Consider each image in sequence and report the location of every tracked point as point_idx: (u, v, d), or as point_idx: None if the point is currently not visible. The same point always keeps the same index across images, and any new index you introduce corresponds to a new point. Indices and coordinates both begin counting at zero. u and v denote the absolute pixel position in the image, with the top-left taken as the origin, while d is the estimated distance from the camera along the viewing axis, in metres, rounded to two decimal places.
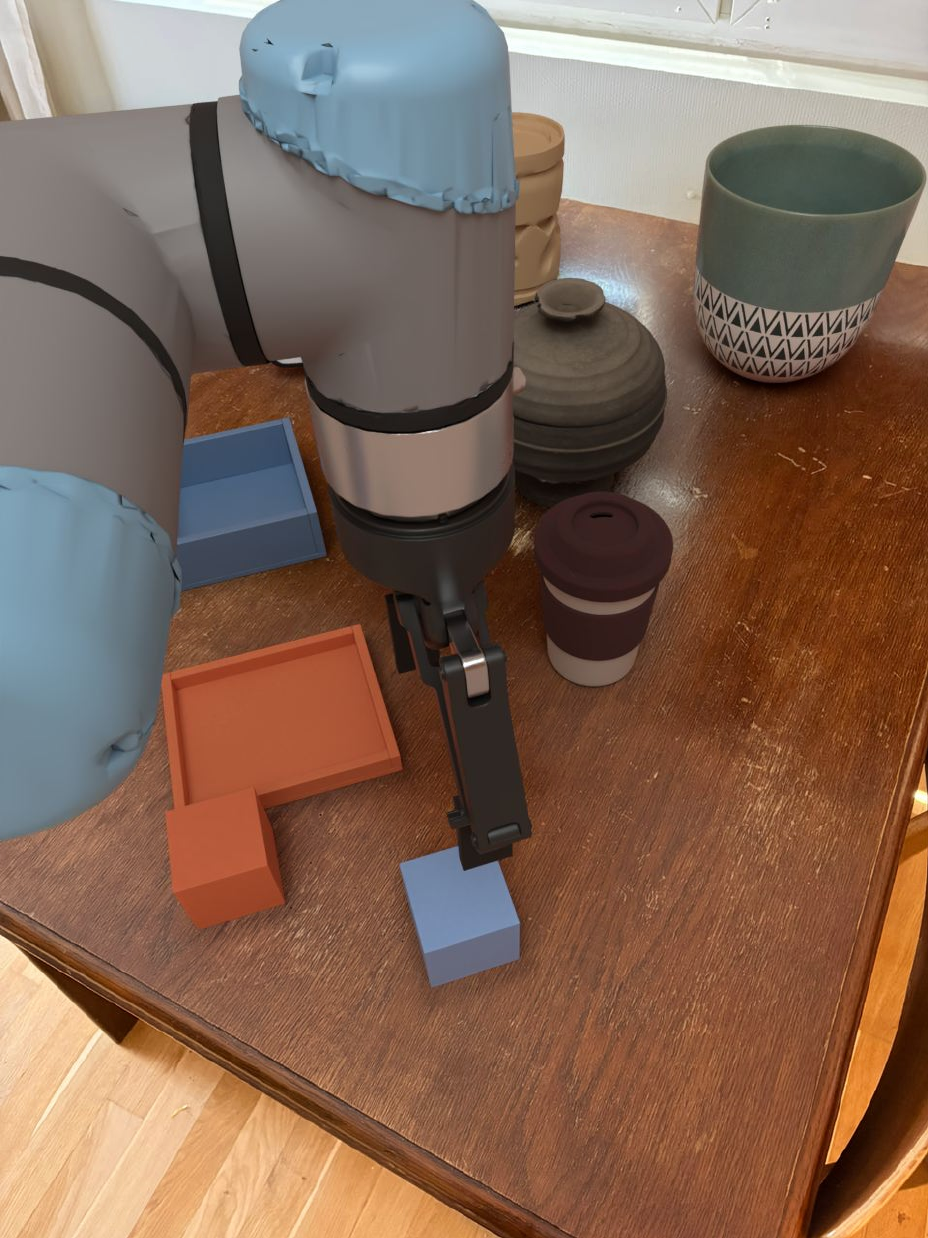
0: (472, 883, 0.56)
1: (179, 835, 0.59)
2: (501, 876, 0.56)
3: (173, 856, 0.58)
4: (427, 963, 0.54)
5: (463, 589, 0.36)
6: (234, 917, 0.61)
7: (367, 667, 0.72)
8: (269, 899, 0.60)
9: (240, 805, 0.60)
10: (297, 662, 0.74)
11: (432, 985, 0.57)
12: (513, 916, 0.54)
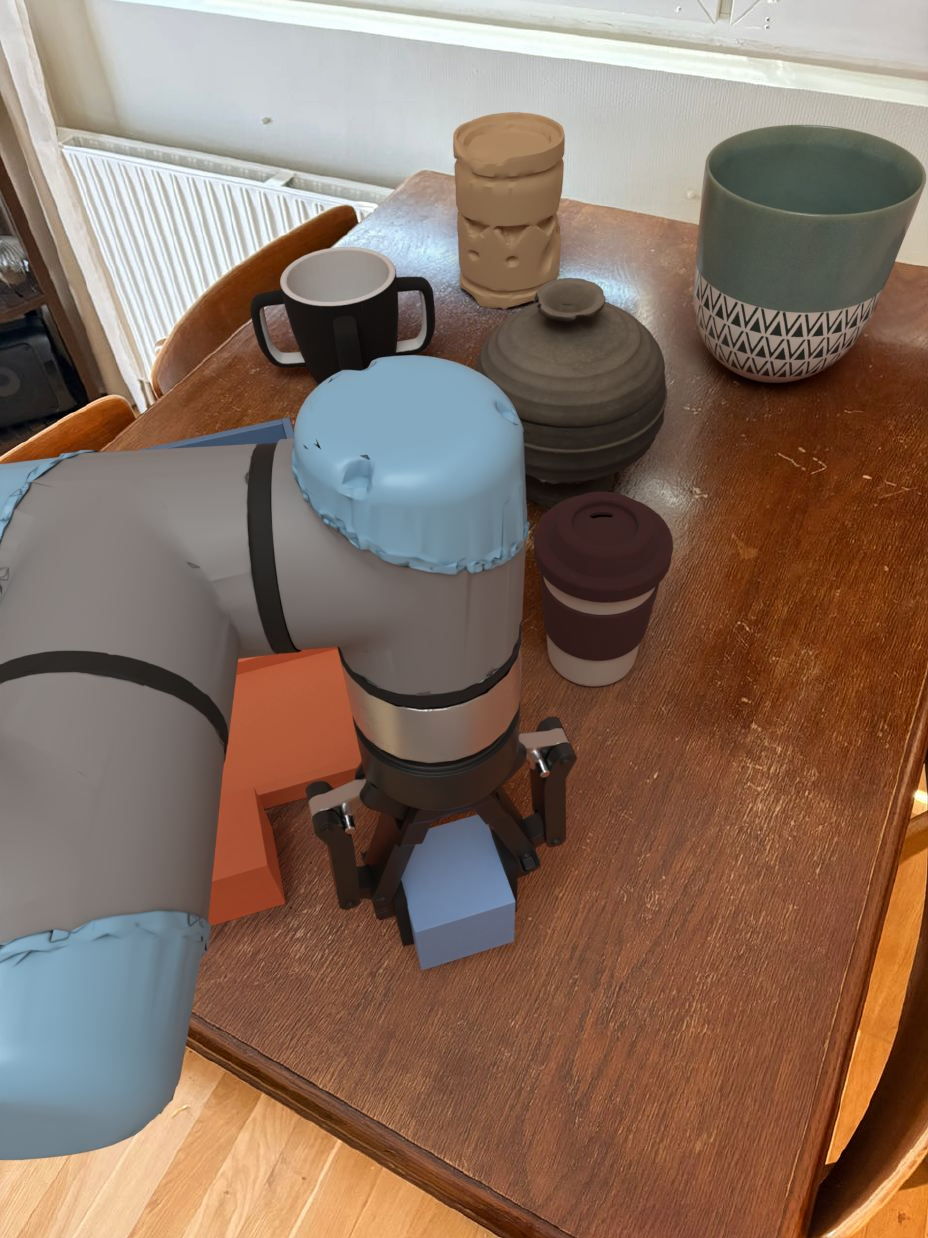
0: (465, 860, 0.53)
1: None
2: (496, 853, 0.53)
3: None
4: (418, 943, 0.52)
5: None
6: (234, 917, 0.61)
7: None
8: (269, 899, 0.60)
9: (240, 805, 0.60)
10: (297, 662, 0.74)
11: (422, 967, 0.55)
12: (508, 895, 0.52)
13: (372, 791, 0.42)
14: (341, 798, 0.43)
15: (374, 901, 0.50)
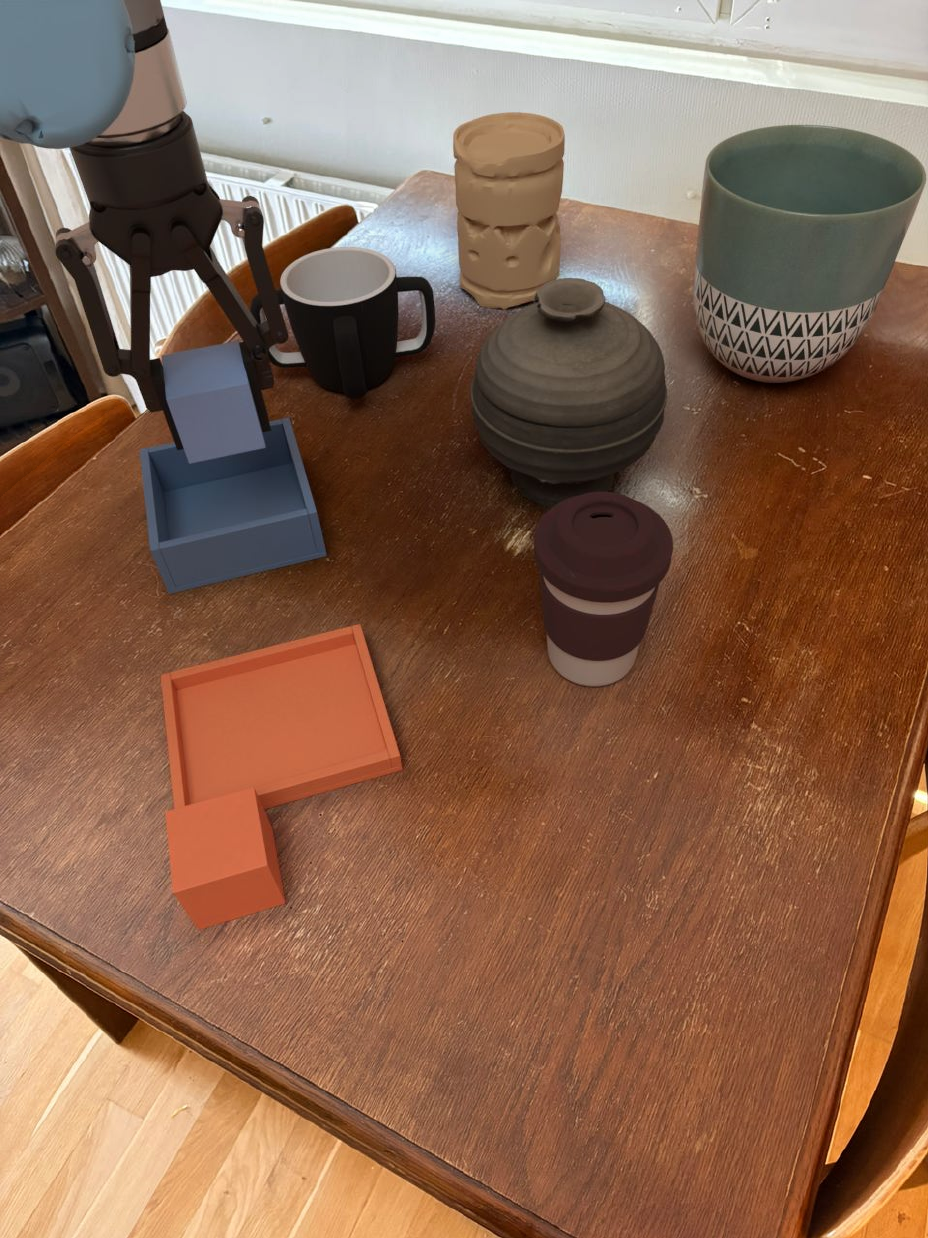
0: (217, 363, 0.68)
1: (179, 835, 0.59)
2: None
3: (173, 856, 0.58)
4: (174, 417, 0.66)
5: None
6: (234, 917, 0.61)
7: (367, 667, 0.72)
8: (269, 899, 0.60)
9: (240, 805, 0.60)
10: (297, 662, 0.74)
11: (189, 459, 0.69)
12: (244, 379, 0.66)
13: (95, 216, 0.57)
14: (77, 231, 0.58)
15: (133, 372, 0.65)
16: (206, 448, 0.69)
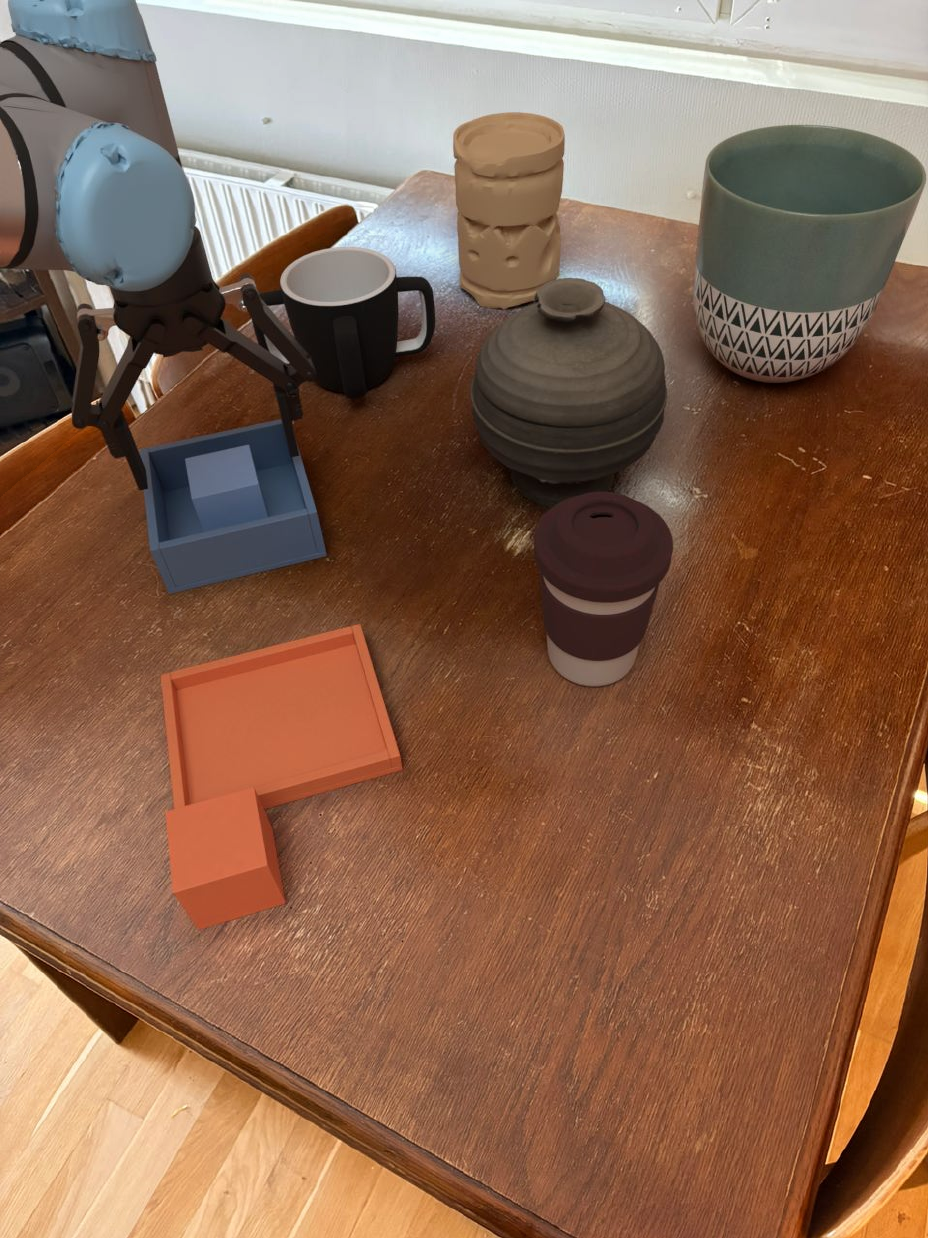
0: (231, 466, 0.82)
1: (179, 835, 0.59)
2: (252, 462, 0.82)
3: (173, 856, 0.58)
4: (197, 512, 0.81)
5: None
6: (234, 917, 0.61)
7: (367, 667, 0.72)
8: (269, 899, 0.60)
9: (240, 805, 0.60)
10: (297, 662, 0.74)
11: None
12: (255, 480, 0.81)
13: (118, 310, 0.68)
14: (101, 312, 0.68)
15: (98, 422, 0.73)
16: None
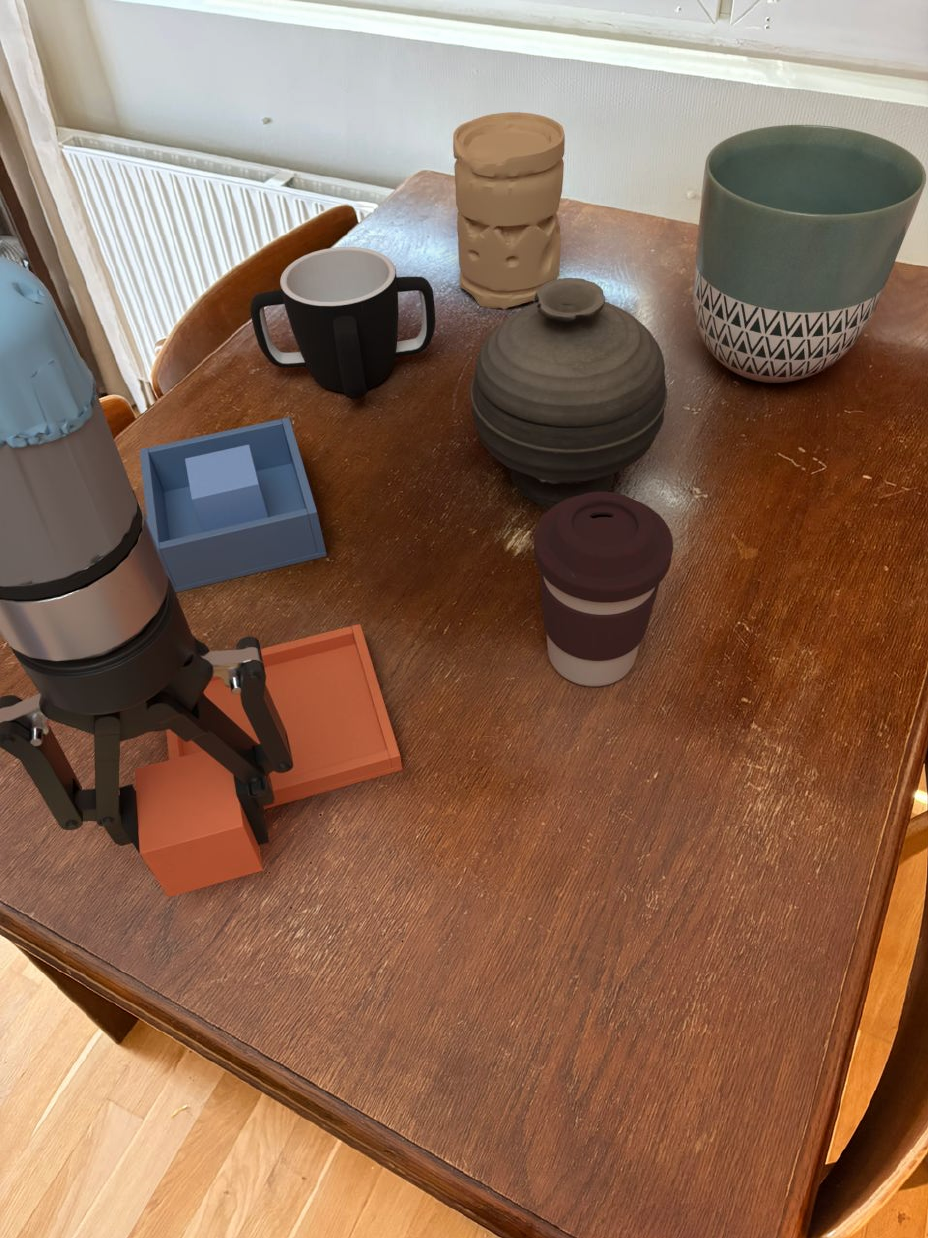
0: (231, 466, 0.82)
1: (148, 794, 0.54)
2: (252, 462, 0.82)
3: (141, 815, 0.53)
4: (197, 512, 0.81)
5: None
6: (207, 884, 0.56)
7: (367, 667, 0.72)
8: (244, 865, 0.56)
9: (215, 762, 0.56)
10: (297, 662, 0.74)
11: None
12: (255, 480, 0.81)
13: (46, 701, 0.43)
14: (23, 710, 0.44)
15: (98, 822, 0.51)
16: None
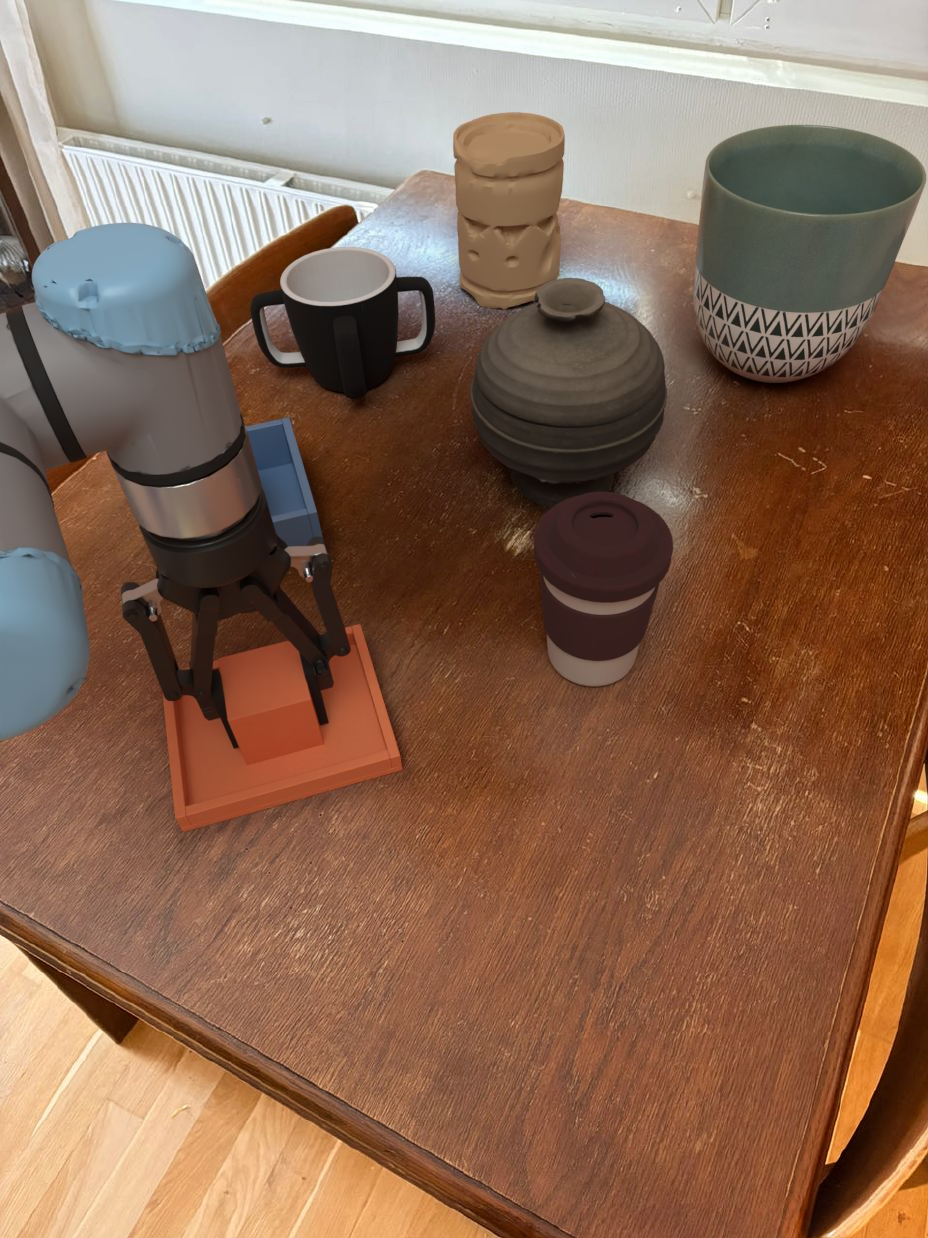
0: None
1: (231, 676, 0.66)
2: None
3: (227, 692, 0.65)
4: None
5: None
6: (279, 754, 0.68)
7: (367, 667, 0.72)
8: (309, 738, 0.68)
9: (285, 652, 0.67)
10: None
11: None
12: None
13: (163, 582, 0.55)
14: (144, 591, 0.56)
15: (194, 695, 0.63)
16: None
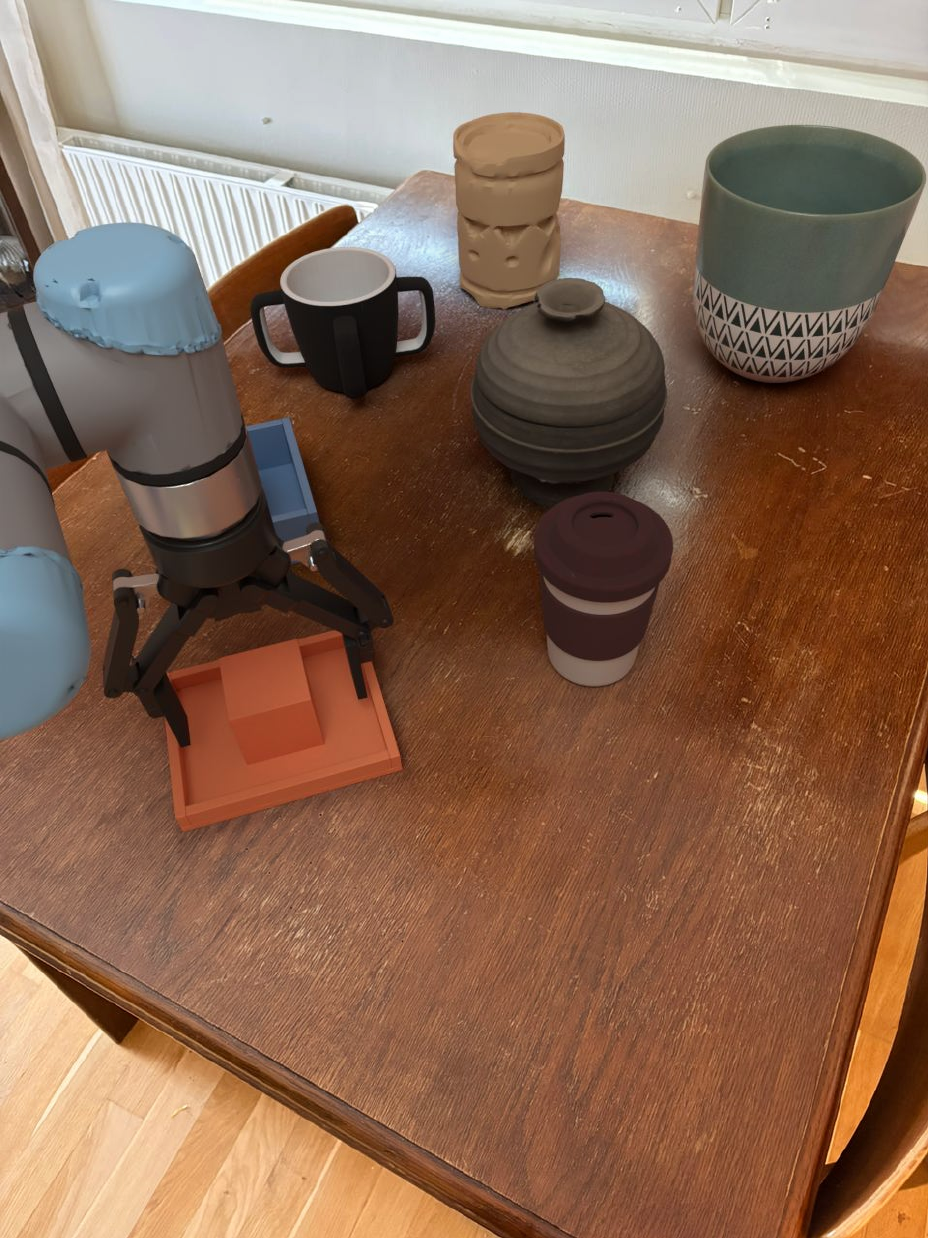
0: None
1: (232, 676, 0.66)
2: None
3: (227, 692, 0.65)
4: None
5: None
6: (279, 754, 0.68)
7: (367, 667, 0.72)
8: (310, 738, 0.68)
9: (285, 652, 0.67)
10: None
11: None
12: None
13: (163, 582, 0.55)
14: (141, 582, 0.56)
15: (135, 690, 0.61)
16: None
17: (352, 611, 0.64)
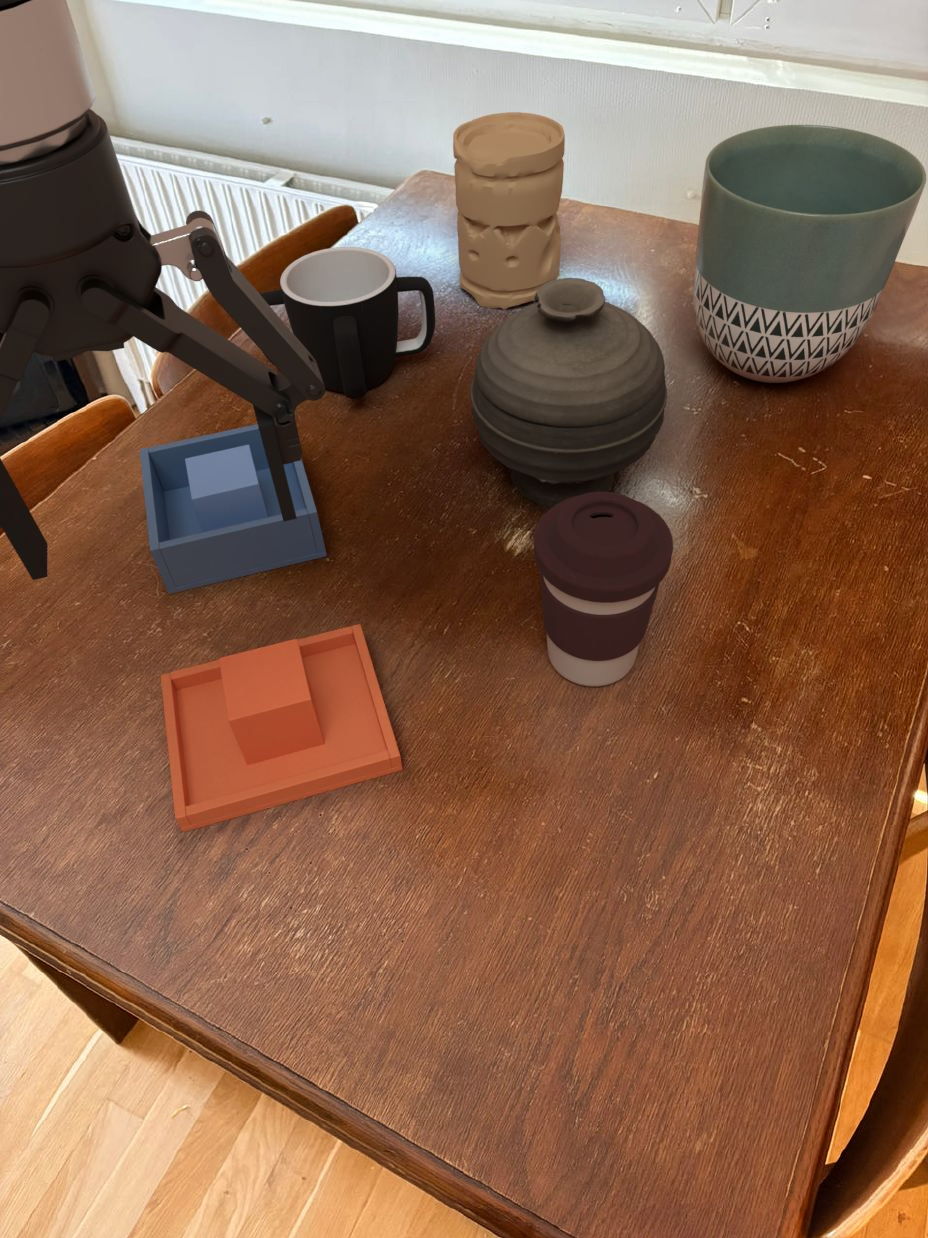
0: (231, 466, 0.82)
1: (232, 676, 0.66)
2: (252, 462, 0.82)
3: (227, 692, 0.65)
4: (197, 512, 0.81)
5: (131, 202, 0.38)
6: (279, 754, 0.68)
7: (367, 667, 0.72)
8: (310, 738, 0.68)
9: (285, 652, 0.67)
10: None
11: None
12: (255, 480, 0.81)
13: None
14: None
15: None
16: None
17: (266, 374, 0.45)
